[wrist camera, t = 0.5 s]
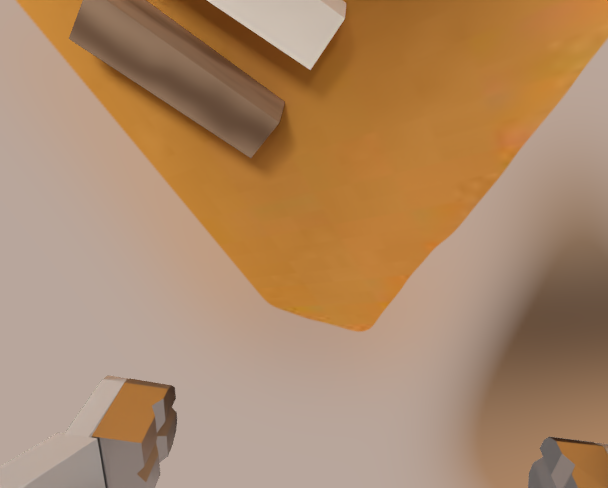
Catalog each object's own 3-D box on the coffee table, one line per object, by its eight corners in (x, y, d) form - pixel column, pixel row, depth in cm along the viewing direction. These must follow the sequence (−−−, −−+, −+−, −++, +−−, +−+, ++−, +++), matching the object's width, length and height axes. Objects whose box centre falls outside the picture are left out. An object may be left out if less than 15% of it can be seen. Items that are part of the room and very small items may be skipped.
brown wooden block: (109, -27, 47) (87, -13, 44) (284, 102, 55) (279, 122, 51) (90, 22, 51) (68, 38, 47) (257, 136, 58) (250, 158, 55)
